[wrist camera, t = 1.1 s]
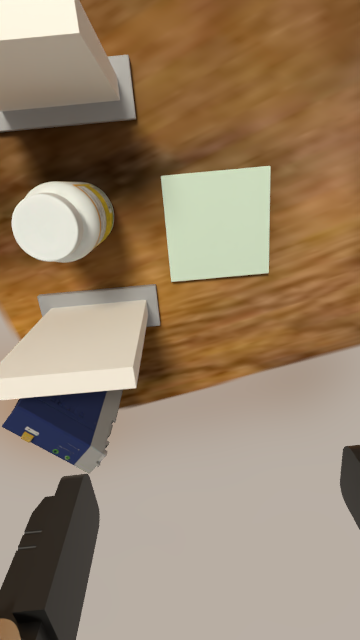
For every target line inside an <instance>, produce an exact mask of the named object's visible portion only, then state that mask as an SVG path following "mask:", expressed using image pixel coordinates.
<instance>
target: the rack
mask: <svg viewBox="0 0 360 640" xmlns="http://www.w3.org/2000/svg"><path fill="white" fill-rule="evenodd" d="M125 120H136V112H135V104H134V95H133V87H132V78H131V70H130V61H129V56H128V55H121V56H110V57H107V55H106V53H105V51H104V49H103V47H102V45H101V43H100V41H99V39H98V37H97V35H96V33H95V31H94V29H93V27H92V25H91V23H90V21H89V19H88V17H87V15H86V13H85V11H84V9H83V7H82V5H81V3H80V1H79V0H0V132H8V131H19V130H29V129H40V128H51V127H61V126H72V125H83V124H93V123H104V122H115V121H125ZM37 298H38V301H39V305H40V309H41V313H42V319H41V320H40V321H39V322H38V323H37V324H36V325H35V326H34V327H33V328H32V329H31V330H30V331H29V332H28V333H27V334H26V336H25V337H24V338H23V339H22V340H21V341H20V342H19V343H18V344H17V345H16V346H15V347H14V348H13V349H12V350H11V352H9V354H8V355H7V356H6V357H5V358H4V359H3V360H2V361H1V362H0V400H7V399H19V398H30V397H41V396H53V395H64V394H75V393H86V392H98V391H109V390H120V389H131V388H136V387H137V381H138V375H139V368H140V362H141V356H142V350H143V344H144V338H145V332H146V327H149V326H160V317H159V308H158V300H157V291H156V284H152V285H141V286H130V287H119V288H108V289H97V290H86V291H75V292H64V293H53V294H42V295H39V296H38V297H37Z"/></svg>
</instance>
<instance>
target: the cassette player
mask: <svg viewBox="0 0 360 640" xmlns="http://www.w3.org/2000/svg"><path fill="white" fill-rule="evenodd" d="M122 392H123V389H120V390H109V391H98V392H86V393H75V394H64V395H53V396H41V397H30V398H20V399H19V400H18V402H17V404H16V406H15V408H14V410H13V411H12V413H11V414H10V416H9V417H8V418H7V420H6V421H5V423H4V424H3V425H2V427H3V428H5V429H7V430H9V431H11V432H13V433H15V434H17V435H18V436H20V437H21V439H23V440H25V441H27V442H32V443H33V444H35V445H37V446H39V447H41V448H43V449H45V450H47V451H48V452H50V453H52V454H54V455H56V456H58V457H60V458H61V459H63V460H66V461H67V462H69V463H71V464H73V465H74V466H76V467H78V468H80V469H82V470H83V471H85V472H87V473H90V472H91V471H92V470H93V469H94V468H95V467H96V466H98V467H99V465H100V462H101V461H102V460H103V458H104V457H105V456H106V455H107V451H106V450H105V448H106V447H107V446H108V445H109V442H108V441H107V438H108V437H109V436H110V434H111V430H112V425H111V424H112V423H113V422H115V421H116V417H117V413H118V409H119V404H120V400H121V396H122Z"/></svg>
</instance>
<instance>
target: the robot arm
mask: <svg viewBox="0 0 360 640" xmlns="http://www.w3.org/2000/svg"><path fill="white" fill-rule="evenodd" d="M340 486H341V492H342V495H343V498H344V501H345V503H346V505H347V507H348V509H349V511H350V512H351V514H352V516H353V518H354V520H355V522H356V524H357V525H358V527H359V529H360V445H355V446H346V447H344V449H343V456H342V466H341V478H340ZM98 529H99V508H98V504H97V500H96V497H95V494H94V490H93V487H92V484H91V480H90V477H89V475H88V474H81V475H73V476H64V477H62V478H61V480H60V482H59V485H58V488H57V491H56V493H55V496H50V497H45V498H44V499H43V500H42V502H41V503H40V504H39V505H38V507H37V508H36V509H35V510H34V511H33V513H32V515H31V517H30V519H29V522H28V524H27V527H26V529H25V534H24V535H23V536H22V539H21V541H20V544H19V546H18V551H16V553H15V556H14V558H13V560H12V563H11V565H10V568H9V570H8V573H7V575H6V577H5V580H4V582H3V585H2V587H1V590H0V640H76V636H77V631H78V626H79V621H80V617H81V611H82V607H83V602H84V597H85V592H86V588H87V583H88V578H89V573H90V568H91V563H92V558H93V554H94V549H95V544H96V539H97V534H98Z"/></svg>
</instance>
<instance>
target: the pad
mask: <svg viewBox="0 0 360 640" xmlns="http://www.w3.org/2000/svg"><path fill="white" fill-rule="evenodd" d="M161 183H162V193H163V203H164V213H165V223H166V233H167V243H168V253H169V264H170V274H171V282H176V281H187V280H198V279H209V278H220V277H231V276H242V275H253V274H264V273H269V224H270V166H263V167H253V168H242V169H231V170H220V171H210V172H199V173H188V174H177V175H167V176H161Z"/></svg>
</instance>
